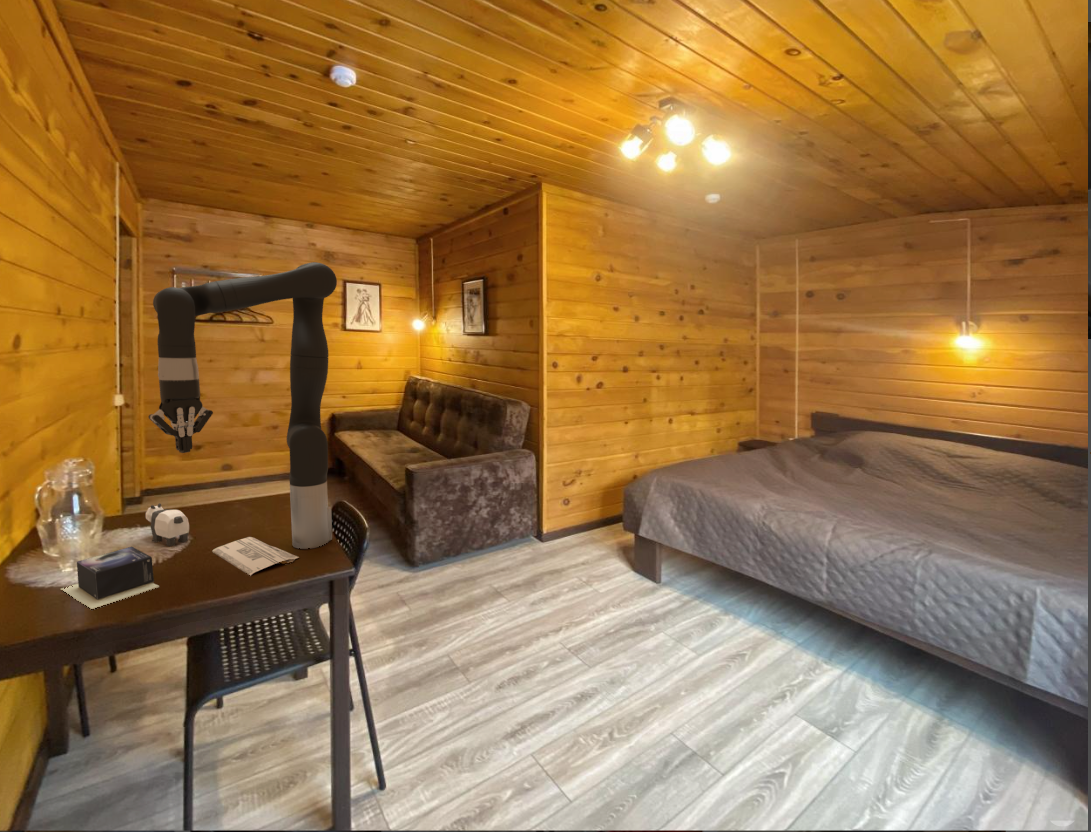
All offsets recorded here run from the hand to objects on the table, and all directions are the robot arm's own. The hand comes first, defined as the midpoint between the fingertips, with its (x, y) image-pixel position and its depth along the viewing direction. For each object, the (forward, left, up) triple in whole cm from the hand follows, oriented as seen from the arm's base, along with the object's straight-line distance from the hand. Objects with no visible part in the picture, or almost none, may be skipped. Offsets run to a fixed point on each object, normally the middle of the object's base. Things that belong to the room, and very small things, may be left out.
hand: (184, 452), depth 121 cm
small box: (+8, -5, -26) cm, 27 cm away
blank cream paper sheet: (+14, -5, -29) cm, 33 cm away
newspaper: (-13, +4, -30) cm, 33 cm away
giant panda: (-6, -26, -29) cm, 40 cm away
